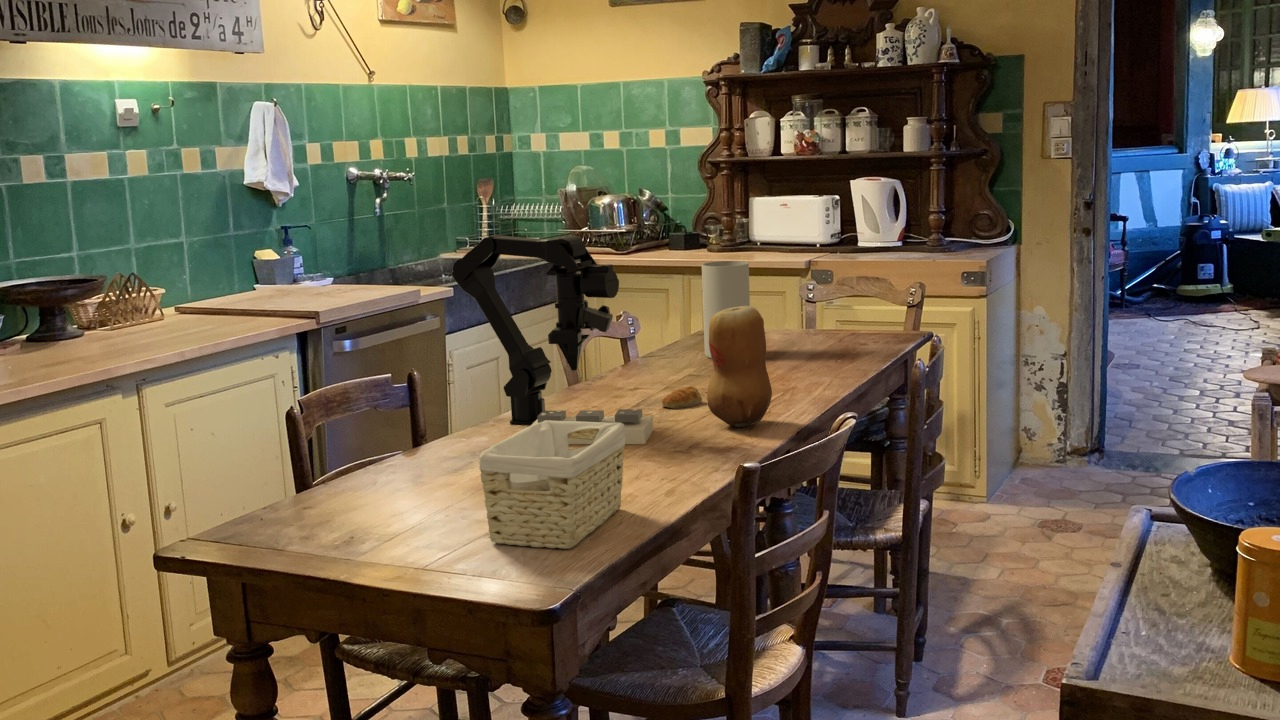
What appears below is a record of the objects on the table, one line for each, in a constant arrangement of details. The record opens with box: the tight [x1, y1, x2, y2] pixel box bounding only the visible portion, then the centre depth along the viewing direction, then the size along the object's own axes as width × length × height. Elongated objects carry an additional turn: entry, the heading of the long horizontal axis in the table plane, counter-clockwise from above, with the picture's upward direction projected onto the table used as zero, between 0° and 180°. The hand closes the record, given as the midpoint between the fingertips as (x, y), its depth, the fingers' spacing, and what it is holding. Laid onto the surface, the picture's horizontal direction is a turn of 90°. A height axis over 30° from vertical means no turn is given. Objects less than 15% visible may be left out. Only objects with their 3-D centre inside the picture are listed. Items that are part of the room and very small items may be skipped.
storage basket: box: [478, 420, 626, 550], centre depth 193 cm, size 24×16×15 cm
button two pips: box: [614, 408, 643, 422], centre depth 247 cm, size 5×5×2 cm
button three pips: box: [537, 409, 567, 423], centre depth 249 cm, size 5×5×2 cm
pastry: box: [661, 386, 703, 410], centre depth 274 cm, size 9×7×4 cm
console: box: [531, 415, 654, 445], centre depth 249 cm, size 24×11×3 cm, turn 80°
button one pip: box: [575, 409, 605, 422], centre depth 248 cm, size 5×5×2 cm
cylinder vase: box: [701, 260, 751, 360], centre depth 326 cm, size 12×12×25 cm
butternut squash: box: [706, 305, 773, 428], centre depth 250 cm, size 14×13×25 cm
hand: (574, 370), depth 257 cm, fingers closed
